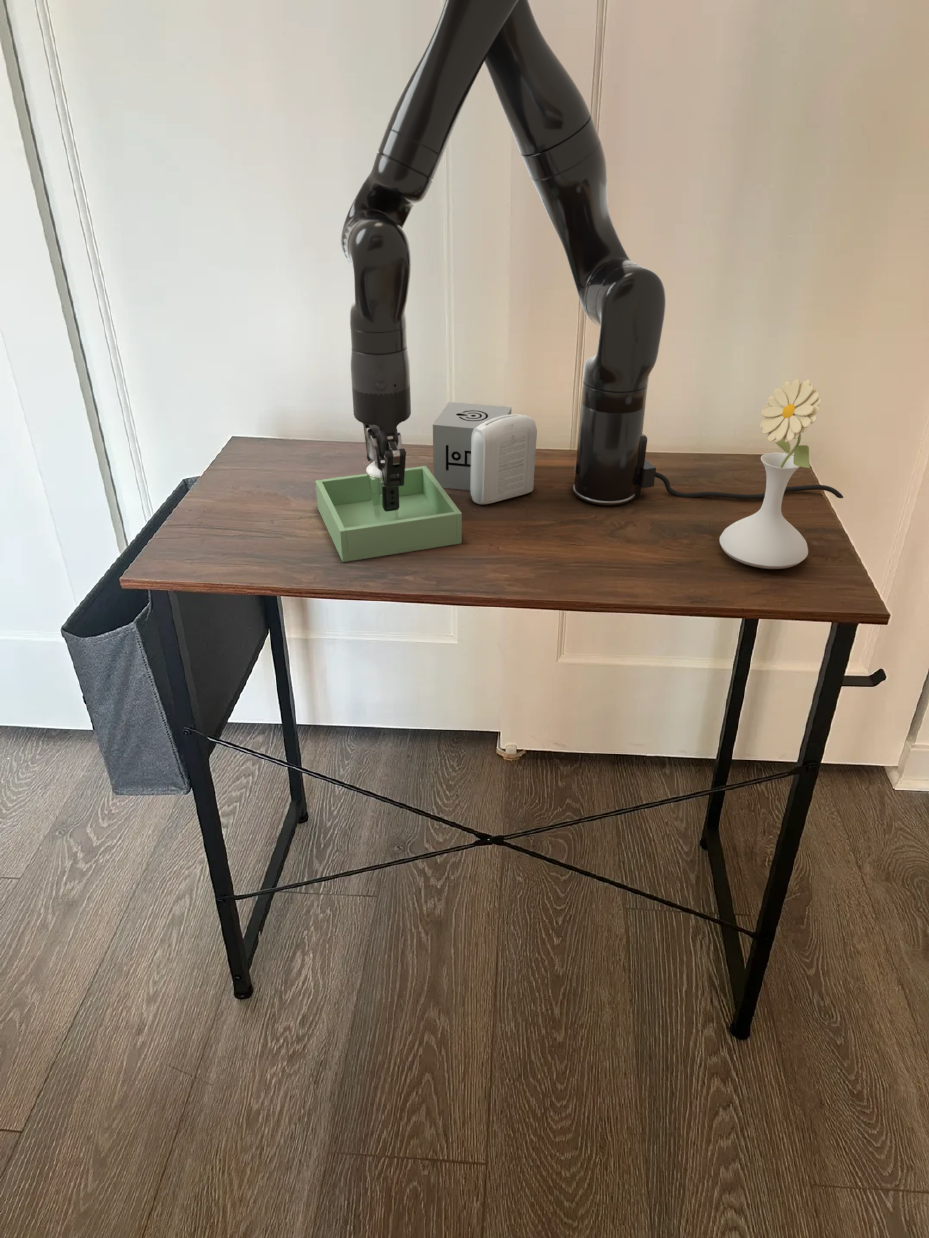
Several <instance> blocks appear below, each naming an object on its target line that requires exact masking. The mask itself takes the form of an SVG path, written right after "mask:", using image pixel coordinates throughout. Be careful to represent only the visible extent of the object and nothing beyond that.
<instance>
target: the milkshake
mask: <svg viewBox="0 0 929 1238" xmlns="http://www.w3.org/2000/svg"><path fill="white" fill-rule="evenodd" d="M380 461H381V463H385V460H380ZM365 470H366V471H365V472H366V474H367V477H368V483H369V488H370V495H371V502H372V509H373V516H374V522H375V524H376V523H382V522H389V521H396V520H398V510H394V511H388V512H386V511H385V510H384V509H383V506H382V486H381V483H380V481H381V478H380V471H379V469H377V468H376V467H375V461H374V462H372V463H371V464H368V465H367V467H366V468H365ZM390 477H394V475H391V476H390Z"/></svg>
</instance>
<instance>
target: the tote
mask: <svg viewBox="0 0 929 1238" xmlns="http://www.w3.org/2000/svg"><path fill="white" fill-rule="evenodd" d="M315 490H316V502H317V510H318V512H319V514H320V516H321V518H322V520H323V523H324V525H325V527H326V530H327V531H328V534H329V536H330V538H331V540H332V542H333V545H334V546H335V549H336V551H337V553H338V555H339V557H340V559H341V562H342V563H347V562H353V561H359V560H366V559H372V558H378V557H386V556H391V555H397V554H398V555H399V554H403V553H410V552H416V551H423V550H428V549H435V548H440V547H441V548H443V547H447V546H453V545H461V544H462V543H463V540H462V539H463V534H462V533H463V513H462V512H461V510H460V509H459V508H458V507H457V505H456V504H455V502H454V501H453V500H452V498H451V497H450V496H449V494H448V493H447V491H446V490H445V488H442V486H441V485H440V484H439V483H438V481H437V480H436V479H435V477H434V474H433V472H431V470H430V469H429V468H428V467H427V465H421V466H415V467H407V468H406V467H405V476H404V486H399V509H398V520H396V521H389V522H382V523H376V524H375V522H374V516H373V509H372V502H371V495H370V488H369V483H368V477H367V473H360V474H354V475H347V476H346V475H345V476H338V477H331V478H324V479H316V480H315Z"/></svg>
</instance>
